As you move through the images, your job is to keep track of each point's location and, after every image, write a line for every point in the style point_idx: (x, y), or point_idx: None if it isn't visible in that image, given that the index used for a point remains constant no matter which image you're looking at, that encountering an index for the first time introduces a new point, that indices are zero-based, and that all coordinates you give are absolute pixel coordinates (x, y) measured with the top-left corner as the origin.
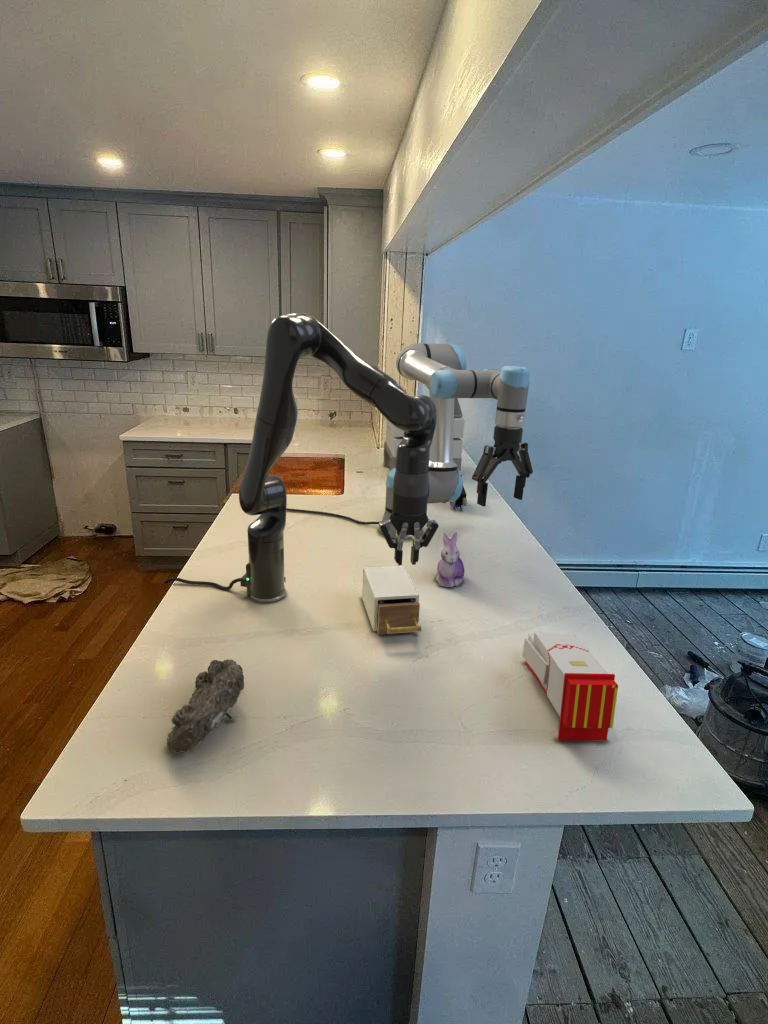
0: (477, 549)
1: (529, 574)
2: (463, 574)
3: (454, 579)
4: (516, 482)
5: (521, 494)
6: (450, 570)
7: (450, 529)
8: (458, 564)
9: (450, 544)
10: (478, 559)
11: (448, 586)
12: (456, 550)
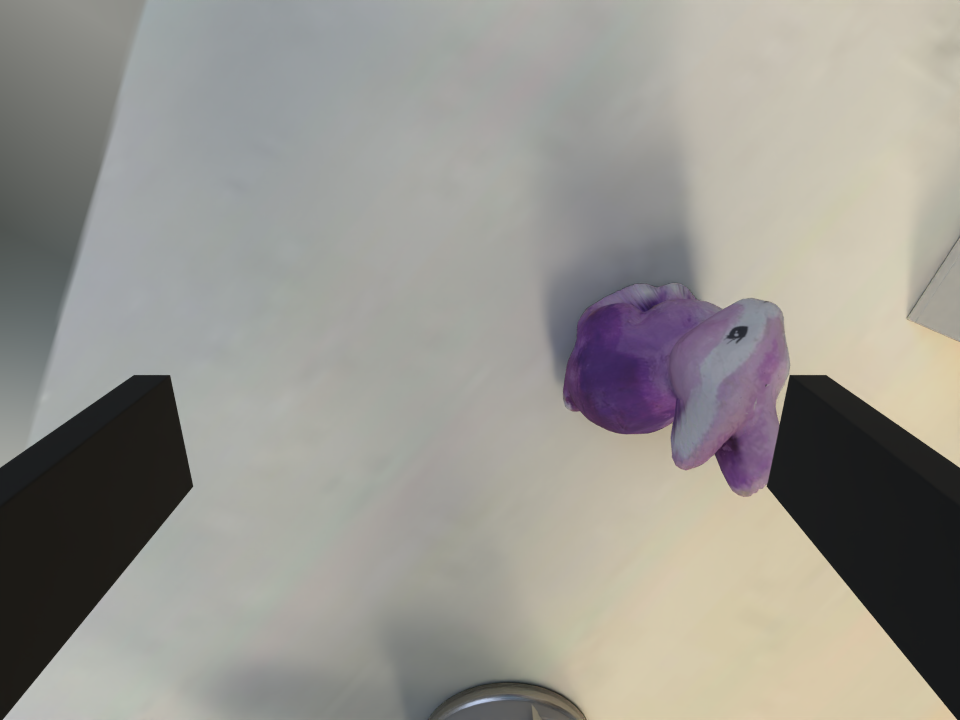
0: (308, 519)
1: (237, 221)
2: (602, 308)
3: (657, 301)
4: (46, 635)
5: (112, 410)
6: (718, 308)
7: (297, 698)
8: (652, 331)
9: (759, 392)
10: (369, 444)
11: (686, 289)
12: (733, 345)
